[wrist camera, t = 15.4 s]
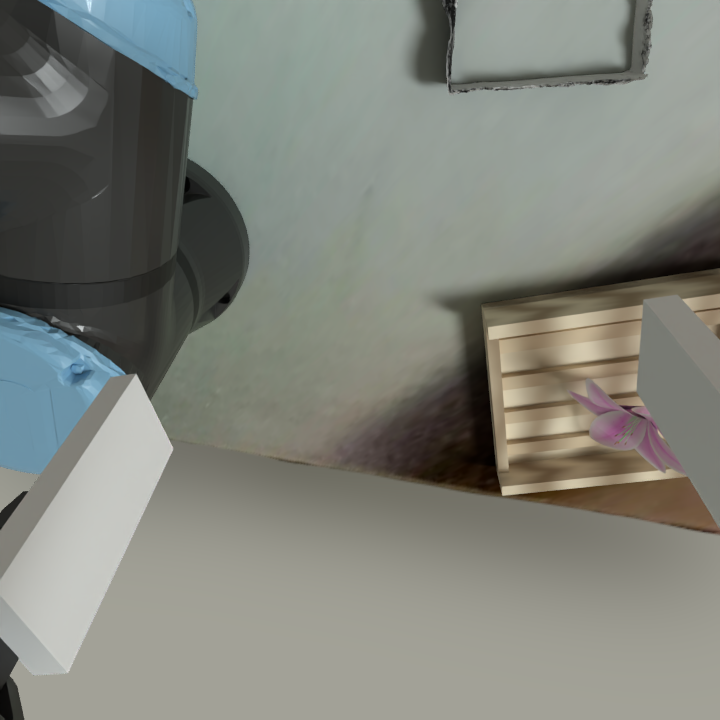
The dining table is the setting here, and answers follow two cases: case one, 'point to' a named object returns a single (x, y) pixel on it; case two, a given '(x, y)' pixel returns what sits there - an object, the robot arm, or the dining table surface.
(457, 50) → the dining table surface
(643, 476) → the drying rack
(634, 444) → the lily
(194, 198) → the robot arm
